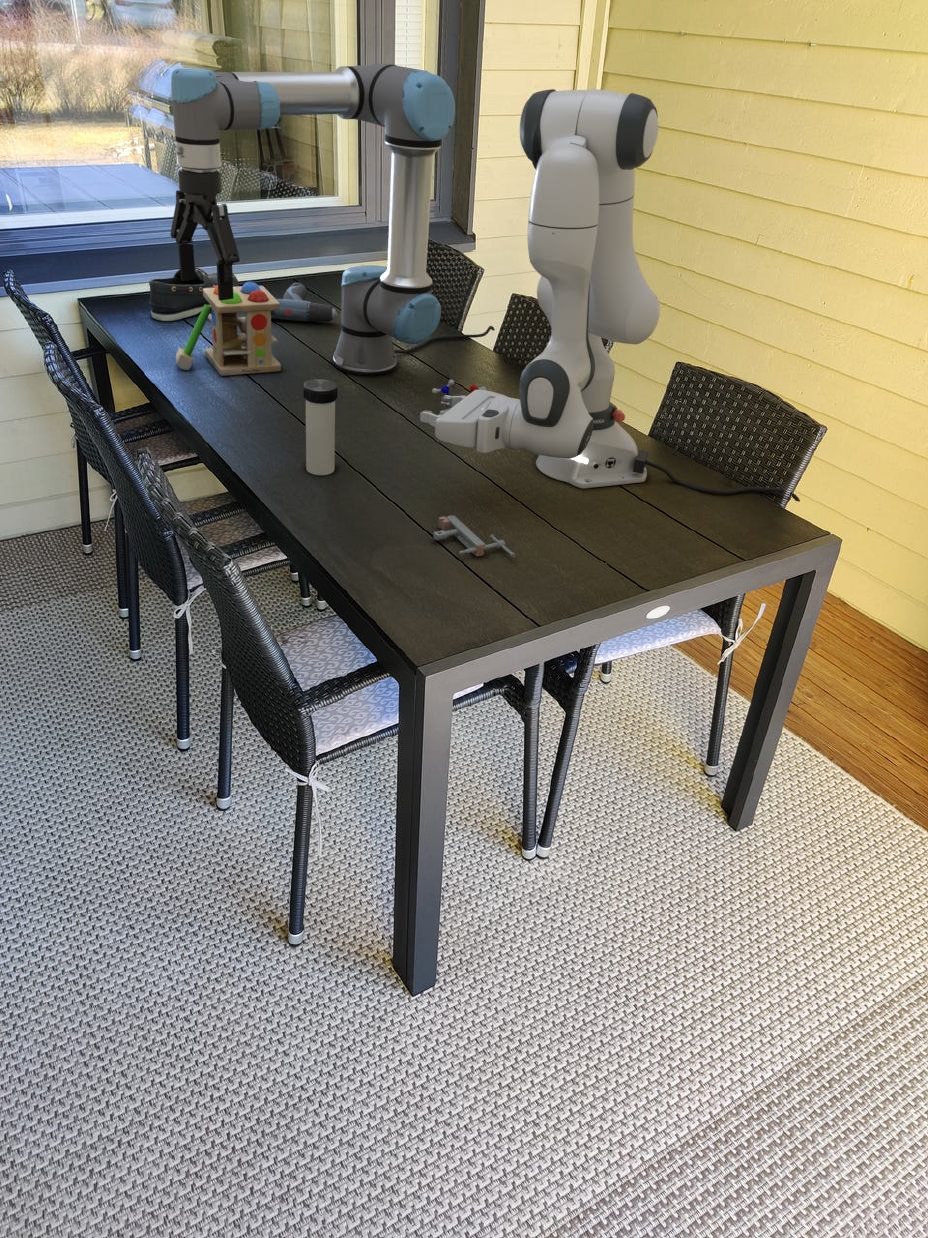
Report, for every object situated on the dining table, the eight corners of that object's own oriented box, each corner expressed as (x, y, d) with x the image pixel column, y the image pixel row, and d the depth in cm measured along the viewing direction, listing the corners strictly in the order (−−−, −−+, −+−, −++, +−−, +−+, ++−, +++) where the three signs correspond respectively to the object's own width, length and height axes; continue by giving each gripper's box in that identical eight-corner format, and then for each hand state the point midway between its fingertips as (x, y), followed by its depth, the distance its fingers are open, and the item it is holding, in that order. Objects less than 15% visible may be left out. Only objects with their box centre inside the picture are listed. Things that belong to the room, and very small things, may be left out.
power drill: (344, 304, 276) (335, 327, 259) (277, 298, 275) (264, 321, 258) (344, 285, 273) (335, 306, 256) (277, 279, 272) (264, 300, 255)
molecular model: (479, 418, 207) (464, 372, 206) (439, 432, 211) (424, 387, 209) (495, 415, 218) (481, 371, 216) (457, 429, 221) (443, 386, 220)
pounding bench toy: (183, 379, 220) (176, 299, 210) (169, 357, 231) (162, 280, 221) (282, 371, 230) (280, 294, 220) (264, 350, 240) (262, 276, 230)
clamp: (423, 519, 171) (472, 509, 176) (423, 530, 173) (471, 520, 177) (466, 561, 161) (517, 549, 165) (465, 572, 162) (516, 561, 167)
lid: (344, 397, 182) (344, 385, 181) (321, 406, 178) (321, 394, 177) (319, 388, 185) (319, 376, 184) (296, 396, 181) (296, 384, 179)
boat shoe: (257, 300, 274) (255, 261, 268) (168, 323, 250) (164, 281, 244) (224, 291, 279) (221, 254, 274) (133, 313, 256) (128, 272, 250)
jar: (340, 469, 190) (341, 387, 181) (321, 477, 187) (321, 395, 177) (319, 460, 193) (319, 379, 183) (300, 468, 189) (299, 386, 180)
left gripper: (145, 155, 179) (155, 274, 191) (217, 183, 164) (224, 310, 176) (182, 153, 183) (190, 269, 195) (256, 180, 169) (260, 304, 181)
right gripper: (523, 388, 182) (454, 375, 186) (483, 422, 166) (409, 407, 170) (520, 420, 186) (453, 407, 190) (481, 456, 169) (408, 441, 173)
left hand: (206, 289), depth 186 cm, fingers open, 13 cm apart
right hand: (432, 407), depth 180 cm, fingers open, 8 cm apart
